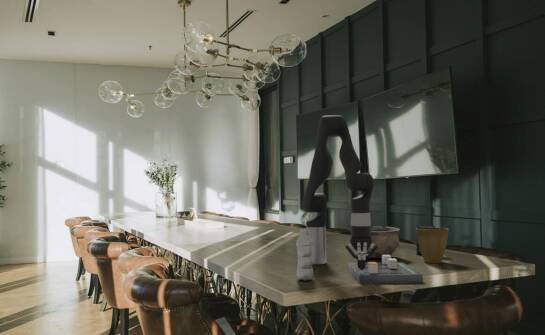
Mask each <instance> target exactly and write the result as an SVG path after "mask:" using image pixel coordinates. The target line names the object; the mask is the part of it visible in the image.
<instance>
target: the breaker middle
mask: <svg viewBox="0 0 545 335" xmlns="http://www.w3.org/2000/svg"><path fill="white" fill-rule="evenodd" d="M397 263H398V259H396V258H392V257H391V258H390V259H387V264H388V268H390V269H397Z"/></svg>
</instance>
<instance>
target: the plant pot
mask: <svg viewBox="0 0 545 335" xmlns="http://www.w3.org/2000/svg"><path fill="white" fill-rule="evenodd" d="M449 232H450V231H449V228H446V227H435V228H433V227H422V228H416V227H415V234H416V233H417V239H418V244H419V247H420V251H421V254H422V256H421V257H422V259H423V262H424V263H428V264H441V263H442V260H443V258H444V255H445V251H446V247H447V243H448V238H449Z"/></svg>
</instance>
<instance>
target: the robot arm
mask: <svg viewBox="0 0 545 335" xmlns="http://www.w3.org/2000/svg"><path fill="white" fill-rule="evenodd" d="M334 137H338V138H340V141H341V144H340V149H339V152H338V155H339V156H338V157H339V161H340V163H341V165H342V167H343V169H344V176H345V184H346V187H347V189H349V190H350V191H351V192H360V194H359V195H358V196H356V197H352V199H351V201H350V202H351V203H350V204H351V205H350V210H351V215H350V240H349V243H347V244H345V245H344V248H345V249H346V250H347V251H348V253H349V254H350V256H352V258H353V259H354V260H355V259H356V261H357V262H356V263H357V266H358V268H359V269H360V270H364V268H365V263H366V260H367V259H371V258H370V257H371V256H372V254H373V253H374V252H375V250H376V249H377V248H378V246H377V245H375V244H374V243H372V239H371V229H372V227H371V226H372V224H371V222H372V219H371V213H370V207H371V206H370V202H371V198H372V192H373V189H374V187H375V186H374V184H375V180H374V177H373V176H372V174H371V173H368V172H360V171H361V170H362V165H363V164H362V162H361V160H360V158H359V157H358V154H357V152H356V150H355V148H354V145H353V140H352V136H351V133H350V130H349V125H348V123H347V121H346V119H345V117H344V116H343V115H340V114H339V115H338V114H337V115H336V114H334V115H333V114H331V115H322V116H321V118H320V119H319V122H318V127H317V134H316V143H315V149H314V153H313V158H312V161H311V165H310V171H309V176H308V181H307V185H306V188H305V191H304V194H303V199H302V210H303V211H304V213H305V212H306V213H316V216H314V217H312V218H311V219H308V220H306V223H305V226H306V228H305V229H309V236H310V238H311V239H312V242H313V245H312V246H313V247H312V265H324V264H326V263H327V231H326V230H327V228H326V226H327V224H326V223H327V197H326V194H325V193H323V192H316V191H317V190H318V189H319V188H320V186H322V185H323V184H324V183H325V182H326V181H327V180H328V179H329V177H330V175H331V173H332V169H333V164H334V161H333V157H332V155H331V152H330V151H329V148H328V146H327V144H328V142H327V141H328V139H329V138H334ZM370 245H371V249H370V251H369V252H368V253H367V255H366V250H368V248H369V247H370ZM352 248H353V249H354V251H355V252H356V253H355V252H354V251H353V250H352ZM361 251H362V253H361Z"/></svg>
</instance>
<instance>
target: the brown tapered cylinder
mask: <svg viewBox="0 0 545 335" xmlns="http://www.w3.org/2000/svg"><path fill="white" fill-rule="evenodd" d="M422 227H433V228H436V226H435V225H432V224H431V225H427V224H423V225H421V224H419V225H415V229H416V228H422ZM415 237H416V238H415V239H416V243H415V246H416V247H415V253H416V256H419V257H422V254H421V251H420V247H419V244H418V239H417V233H416V232H415Z"/></svg>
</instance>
